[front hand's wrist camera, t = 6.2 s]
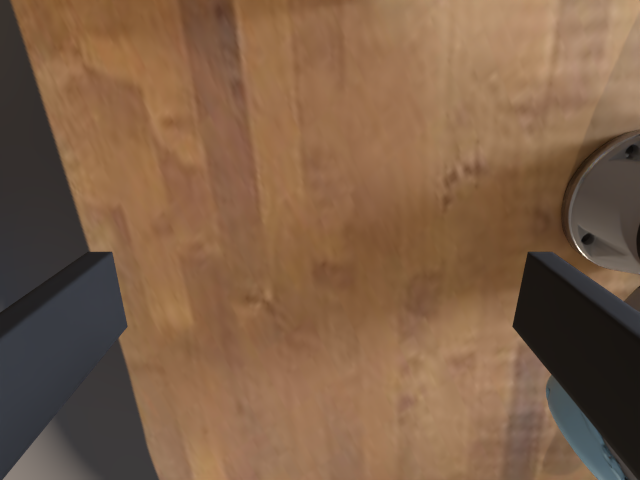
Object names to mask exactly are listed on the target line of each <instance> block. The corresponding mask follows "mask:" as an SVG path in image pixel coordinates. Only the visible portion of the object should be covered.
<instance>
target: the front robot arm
mask: <svg viewBox="0 0 640 480" xmlns="http://www.w3.org/2000/svg"><path fill="white" fill-rule="evenodd" d="M561 219H562V226H563V230H564V233H565V236H566V238H567V240H568V242H569V243H570V245H571V246H572V247H573V248H574V249H575V250H576V251H577V252H578V253H579V254H581V255H582V256H584V257H585V258H587V259H588V260H590V261H591V262H593V263H595V264H597V265H599V266H601V267H604V268H608V269H612V270H617V271H623V272H628V273H634V274H640V130H636V131H632V132H629V133H626V134H623V135H621V136H619V137H617V138H615V139H613V140H611V141H609V142H607V143H606V144H604V145H603V146H601V147H600V148H599V149H597V150H596V151H595V152H594V153H593V154H591V155H590V156H589V157H588V158H587V159H586V160H585V161H584V163H583V164H582V165H581V166H580V167H579V169H578V170H577V171H576V173H575V174H574V176H573V178H572V179H571V181H570V183H569V185H568V187H567V190H566V192H565V196H564V199H563V204H562V211H561ZM126 328H127V322H126V317H125V312H124V307H123V302H122V298H121V293H120V288H119V283H118V278H117V273H116V268H115V264H114V259H113V254H112V252H87V253H86V254H84V255H83V256H81V257H80V258H78V259H77V260H76V261H74V262H73V263H71V264H70V265H68V266H67V267H65V268H64V269H62V270H61V271H60V272H58V273H57V274H55V275H54V276H52V277H51V278H50V279H48V280H47V281H45V282H44V283H42V284H41V285H40V286H38V287H37V288H35V289H34V290H32V291H31V292H29V293H28V294H26V295H25V296H24V297H22V298H21V299H19V300H18V301H16V302H15V303H13V304H12V305H11V306H9V307H8V308H6V309H5V310H3V311H2V312H1V313H0V480H3V478H4V477H5V476H6V475H7V473H8V472H9V471H10V470H11V469H12V467H13V466H14V465H15V464H16V462H17V461H18V460H19V459H20V458H21V456H22V455H23V454H24V453H25V451H26V450H27V449H28V448H29V446H30V445H31V444H32V443H33V442H34V440H35V439H36V438H37V437H38V435H39V434H40V433H41V432H42V431H43V429H44V428H45V427H46V426H47V424H48V423H49V422H50V421H51V420H52V418H53V417H54V416H55V415H56V413H57V412H58V411H59V410H60V409H61V407H62V406H63V405H64V404H65V402H66V401H67V400H68V399H69V398H70V396H71V395H72V394H73V393H74V391H75V390H76V389H77V388H78V387H79V385H80V384H81V383H82V382H83V380H84V379H85V378H86V377H87V376H88V374H89V373H90V372H91V371H92V369H93V368H94V367H95V366H96V365H97V363H98V362H99V361H100V360H101V358H102V357H103V356H104V355H105V353H106V352H107V351H108V350H109V349H110V347H111V346H112V345H113V344H114V342H115V341H116V340H117V339H118V338H119V336H120V335H121V334H122V333H123V331H124V330H125V329H126ZM513 328H514V329H515V330H516V331H517V333H518V334H519V335H520V336H521V338H522V339H523V340H524V341H525V342H526V344H527V345H528V346H529V347H530V349H531V350H532V351H533V352H534V353H535V355H536V356H537V357H538V358H539V360H540V361H541V362H542V363H543V365H544V366H545V367H546V368H547V369H548V371H549V372H550V373H551V374H552V375H551V376H550V378H549V380H548V382H547V385H546V397H547V400H548V405H549V409H550V411H551V413H552V416H553V418H554V420H555V422H556V424H557V425H558V427H559V429H560V430H561V432H562V434H563V435H564V437H565V438H566V440H567V441H568V443H569V444H570V446H571V447H572V448H573V450H574V451H575V453H576V454H577V455H578V456H579V458H580V459H581V460H582V462H583V463H584V464H585V465H586V466H587V468H588V469H589V470H590V471H591V472H592V473H593V475H594V476H595V477H596V478H597V479H598V480H640V286H639V287H638V288H637V289H636V290H635V291H634V292H633V293H632V294H631V295H630V296H629V297H628V298H627V299H626V300H625V301H622V300H621V299H619V298H618V297H616V296H615V295H614V294H612V293H611V292H609V291H608V290H606V289H605V288H603V287H602V286H601V285H599V284H598V283H596V282H595V281H593V280H592V279H590V278H589V277H588V276H586V275H585V274H583V273H582V272H580V271H579V270H578V269H576V268H575V267H573V266H572V265H570V264H569V263H567V262H566V261H565V260H563V259H562V258H560V257H559V256H557V255H556V254H554V253H553V252H528V254H527V259H526V264H525V268H524V273H523V278H522V283H521V288H520V293H519V297H518V302H517V307H516V312H515V317H514V322H513Z"/></svg>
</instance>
